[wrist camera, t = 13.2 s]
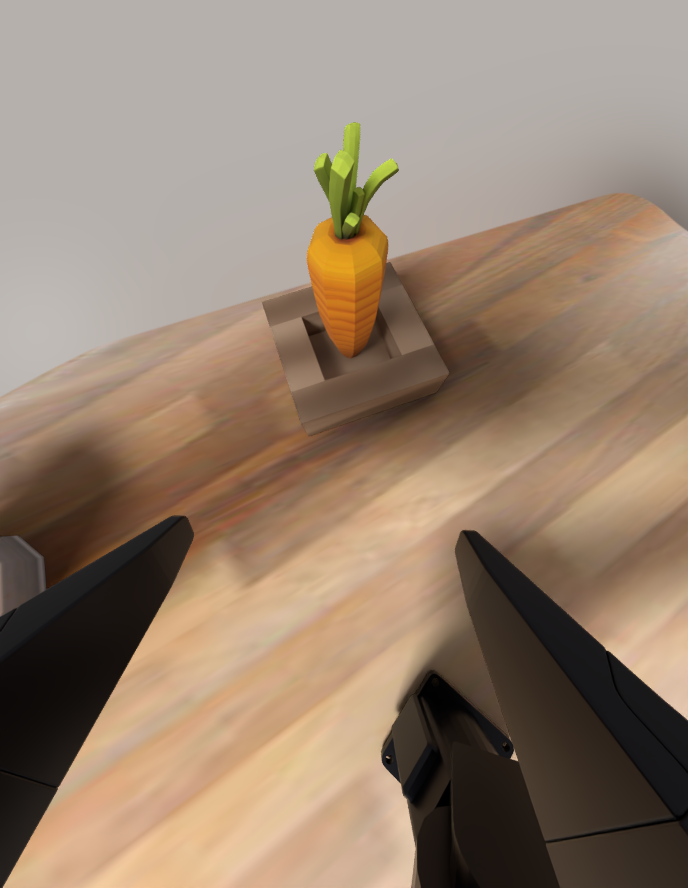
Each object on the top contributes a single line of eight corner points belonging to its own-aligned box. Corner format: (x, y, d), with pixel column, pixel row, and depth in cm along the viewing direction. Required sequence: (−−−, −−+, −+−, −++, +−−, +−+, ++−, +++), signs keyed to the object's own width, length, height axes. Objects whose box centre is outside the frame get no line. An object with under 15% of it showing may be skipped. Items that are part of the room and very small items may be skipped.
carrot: (344, 326, 25) (330, 84, 11) (385, 350, 25) (429, 118, 10) (315, 362, 25) (259, 147, 10) (356, 387, 24) (360, 191, 9)
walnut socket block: (436, 392, 24) (449, 373, 21) (308, 436, 23) (301, 423, 20) (385, 292, 27) (390, 262, 24) (273, 328, 27) (262, 302, 23)
